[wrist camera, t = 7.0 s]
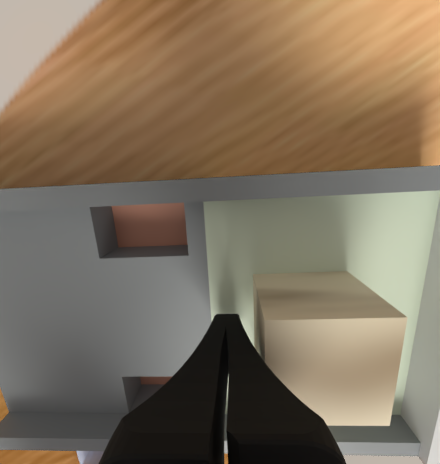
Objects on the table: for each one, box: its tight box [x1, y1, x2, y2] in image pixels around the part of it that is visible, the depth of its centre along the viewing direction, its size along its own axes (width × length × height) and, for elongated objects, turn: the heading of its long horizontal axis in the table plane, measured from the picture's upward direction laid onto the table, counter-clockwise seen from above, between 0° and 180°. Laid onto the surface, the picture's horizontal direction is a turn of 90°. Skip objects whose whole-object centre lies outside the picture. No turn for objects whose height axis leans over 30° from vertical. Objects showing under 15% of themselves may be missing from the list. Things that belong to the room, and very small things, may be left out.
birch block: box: [253, 271, 408, 426], centre depth 10 cm, size 5×5×4 cm
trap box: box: [0, 165, 440, 464], centre depth 13 cm, size 16×27×4 cm, turn 93°
